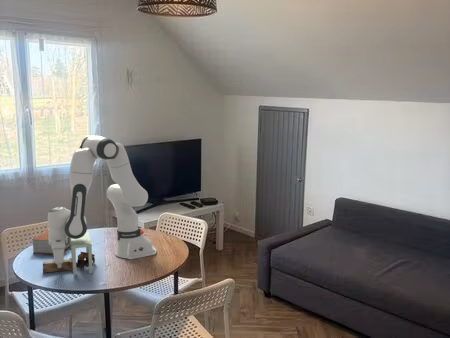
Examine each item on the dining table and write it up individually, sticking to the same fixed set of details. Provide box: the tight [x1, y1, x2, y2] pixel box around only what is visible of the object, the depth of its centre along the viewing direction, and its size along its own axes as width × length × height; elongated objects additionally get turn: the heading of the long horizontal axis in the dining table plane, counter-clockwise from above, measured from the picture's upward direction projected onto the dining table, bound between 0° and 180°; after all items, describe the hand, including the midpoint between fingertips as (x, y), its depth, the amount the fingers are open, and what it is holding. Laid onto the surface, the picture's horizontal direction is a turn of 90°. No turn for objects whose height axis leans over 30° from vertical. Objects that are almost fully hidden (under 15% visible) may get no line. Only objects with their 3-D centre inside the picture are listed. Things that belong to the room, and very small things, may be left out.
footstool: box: [70, 231, 94, 277], centre depth 216 cm, size 9×19×16 cm, turn 22°
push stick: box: [42, 257, 73, 274], centre depth 212 cm, size 14×6×4 cm, turn 114°
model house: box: [32, 228, 71, 256], centre depth 244 cm, size 24×16×15 cm, turn 175°
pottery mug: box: [76, 251, 96, 270], centre depth 218 cm, size 12×9×8 cm
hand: (59, 265), depth 213 cm, fingers closed on push stick, 3 cm apart
